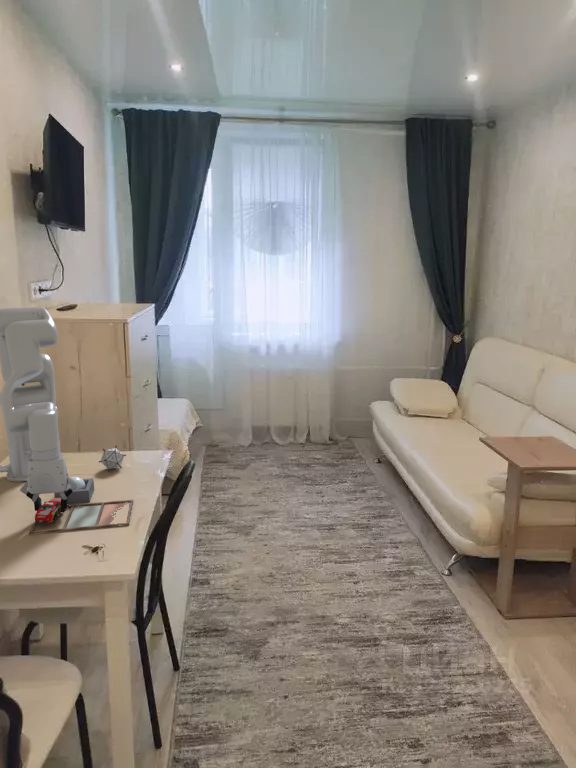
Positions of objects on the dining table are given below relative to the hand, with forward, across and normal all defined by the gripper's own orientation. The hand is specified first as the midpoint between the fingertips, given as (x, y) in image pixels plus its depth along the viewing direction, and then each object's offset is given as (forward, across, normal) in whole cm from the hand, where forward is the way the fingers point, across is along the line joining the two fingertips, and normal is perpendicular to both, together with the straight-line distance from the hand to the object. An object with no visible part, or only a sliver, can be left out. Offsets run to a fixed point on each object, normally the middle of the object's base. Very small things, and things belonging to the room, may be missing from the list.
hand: (51, 510), depth 158 cm
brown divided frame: (+2, +9, -1) cm, 9 cm away
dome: (+2, +4, +14) cm, 15 cm away
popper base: (+3, +4, +14) cm, 15 cm away
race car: (+1, 0, 0) cm, 1 cm away
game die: (+3, +13, +37) cm, 40 cm away
